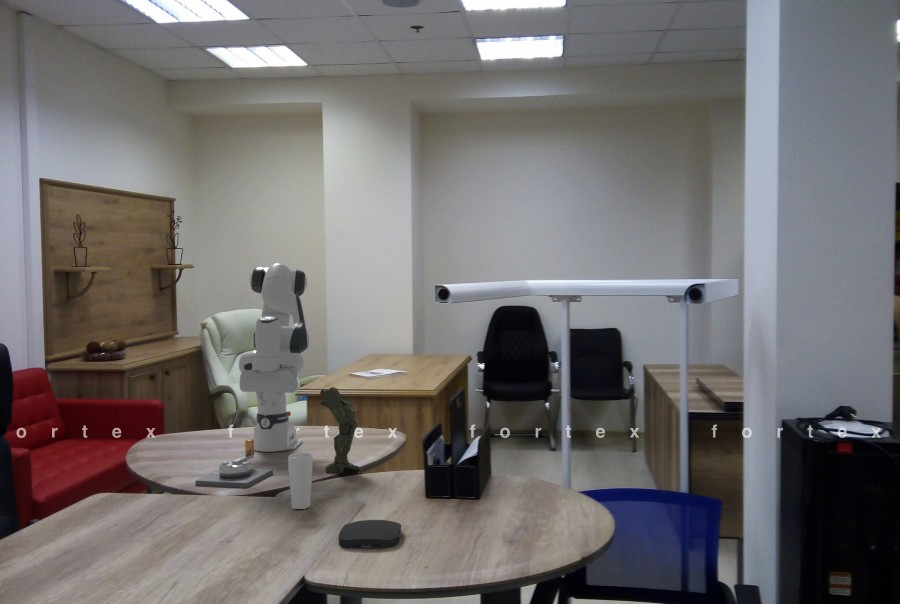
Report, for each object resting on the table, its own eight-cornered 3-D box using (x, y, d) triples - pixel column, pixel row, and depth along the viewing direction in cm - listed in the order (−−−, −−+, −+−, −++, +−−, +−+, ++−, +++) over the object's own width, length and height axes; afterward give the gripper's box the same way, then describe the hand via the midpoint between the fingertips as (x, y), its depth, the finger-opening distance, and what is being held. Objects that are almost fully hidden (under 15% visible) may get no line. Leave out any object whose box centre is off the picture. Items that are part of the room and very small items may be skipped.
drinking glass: (318, 507, 206) (317, 454, 206) (298, 512, 201) (297, 458, 201) (303, 502, 211) (303, 451, 211) (284, 508, 206) (283, 455, 206)
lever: (241, 478, 233) (241, 449, 233) (213, 477, 235) (212, 448, 235) (265, 466, 249) (265, 439, 249) (238, 465, 252) (238, 438, 251)
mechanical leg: (370, 466, 252) (348, 382, 252) (365, 471, 245) (343, 384, 245) (332, 475, 253) (311, 391, 254) (327, 480, 246) (305, 394, 247)
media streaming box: (346, 530, 187) (346, 518, 187) (403, 530, 187) (403, 518, 187) (335, 550, 173) (335, 537, 172) (397, 550, 172) (397, 537, 172)
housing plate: (224, 471, 250) (224, 466, 250) (272, 473, 246) (272, 468, 246) (195, 485, 232) (195, 479, 232) (246, 487, 229) (246, 482, 229)
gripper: (300, 364, 248) (301, 404, 248) (246, 363, 252) (246, 403, 252) (293, 365, 242) (293, 407, 242) (237, 365, 246) (237, 406, 246)
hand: (269, 405), depth 247 cm, fingers open, 3 cm apart
